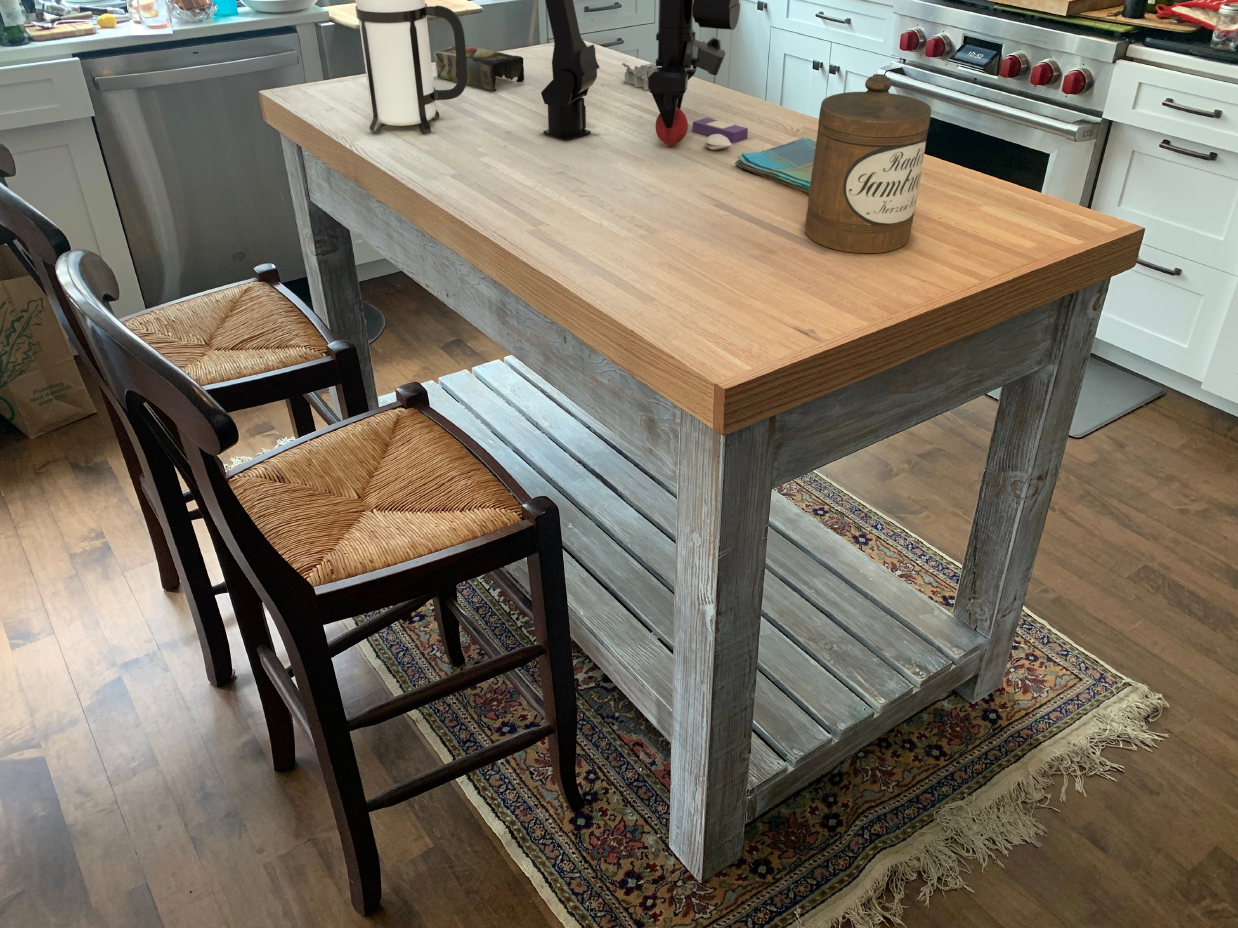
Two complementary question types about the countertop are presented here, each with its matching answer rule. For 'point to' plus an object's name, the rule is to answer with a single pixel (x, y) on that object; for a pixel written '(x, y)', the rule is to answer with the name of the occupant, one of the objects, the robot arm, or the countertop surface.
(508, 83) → the countertop surface
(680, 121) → the onion
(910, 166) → the wooden container
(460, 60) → the coffee press
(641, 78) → the egg carton
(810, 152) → the dish towel
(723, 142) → the white clam shell
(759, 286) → the countertop surface
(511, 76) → the juice carton
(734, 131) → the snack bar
